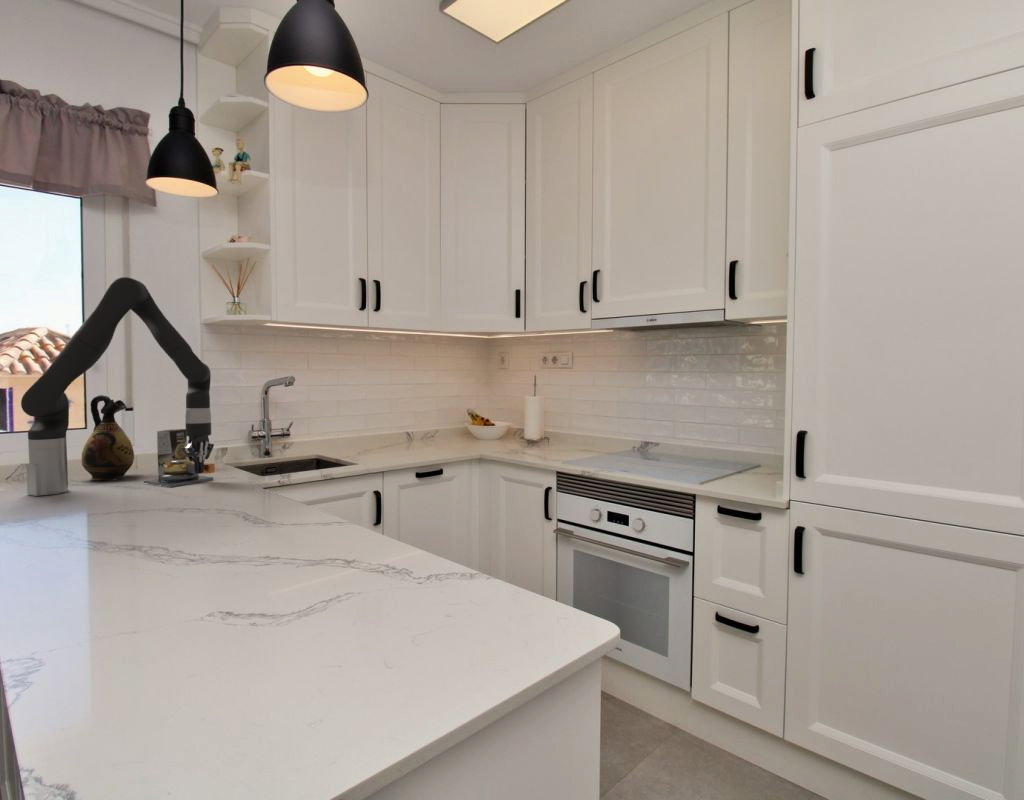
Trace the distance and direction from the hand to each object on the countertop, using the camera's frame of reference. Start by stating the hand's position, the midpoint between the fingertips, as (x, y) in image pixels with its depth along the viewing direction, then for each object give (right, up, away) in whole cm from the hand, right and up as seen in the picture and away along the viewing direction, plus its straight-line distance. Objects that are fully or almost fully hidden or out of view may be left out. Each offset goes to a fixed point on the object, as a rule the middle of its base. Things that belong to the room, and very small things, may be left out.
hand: (199, 473), depth 188 cm
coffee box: (-26, -3, +28) cm, 38 cm away
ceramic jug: (-40, -4, +13) cm, 43 cm away
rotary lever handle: (-6, 0, +5) cm, 8 cm away
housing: (-10, -4, +6) cm, 12 cm away
